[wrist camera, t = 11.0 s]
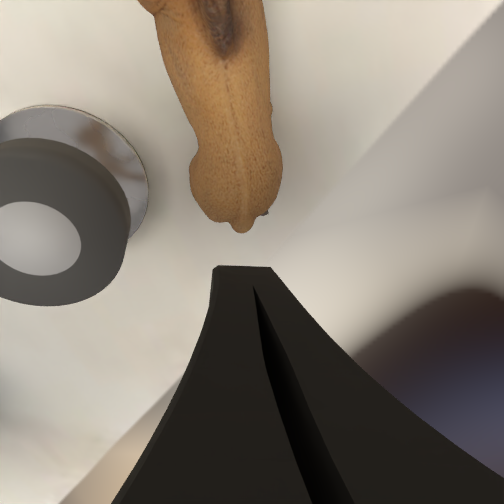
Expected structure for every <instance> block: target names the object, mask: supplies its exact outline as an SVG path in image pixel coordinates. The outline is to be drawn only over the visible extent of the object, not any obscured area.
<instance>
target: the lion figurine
mask: <svg viewBox="0 0 504 504" xmlns="http://www.w3.org/2000/svg"><path fill="white" fill-rule="evenodd" d="M138 1H139V3H140V4H141V5H142V6H143V7H144V8H145V9H146V10H147V11H148V12H150V13H151V14H152V15H153V16H154V18H155V24H156V30H157V36H158V41H159V45H160V49H161V53H162V57H163V61H164V64H165V67H166V70H167V73H168V75H169V78H170V80H171V83H172V85H173V87H174V90H175V92H176V94H177V96H178V99H179V101H180V103H181V105H182V108H183V110H184V112H185V114H186V116H187V118H188V120H189V122H190V124H191V126H192V127H193V129H194V132H195V134H196V137H197V139H198V145H199V149H198V152H197V154H196V155H195V156H194V158H193V159H192V161H191V163H190V166H189V173H190V187H191V191H192V194H193V196H194V198H195V200H196V201H197V203H198V204H199V206H200V208H201V209H202V210H203V212H204V213H205V214H206V215H207V217H208V218H209V219H211V220H212V221H214V222H219V223H221V222H229V223H230V224H231V226H232V228H233V229H234V230H235V231H236V232H238V233H246V232H247V231H249V230H250V229H251V227H252V226H253V224H254V221H255V219H256V217H258V216H260V215H262V216H264V215H267V214H268V209H269V208H270V206H271V205H272V204H273V202H274V201H275V199H276V197H277V194H278V191H279V187H280V183H281V179H282V170H283V164H282V156H281V151H280V149H279V146H278V144H277V142H276V141H275V139H274V136H273V132H272V125H271V114H272V105H271V102H270V78H269V45H268V35H267V28H266V21H265V14H264V8H263V3H262V0H138Z"/></svg>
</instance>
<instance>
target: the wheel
mask: <svg viewBox="0 0 504 504" xmlns="http://www.w3.org/2000/svg"><path fill="white" fill-rule="evenodd" d="M130 227H131V214H130V208H129V204H128V200H127V198H126V195H125V193H124V191H123V189H122V187H121V186H120V184H119V183H118V181H117V180H116V179H115V177H114V176H113V175H112V174H111V173H110V172H109V170H108V169H107V168H106V167H105V166H103V165H102V164H101V163H100V162H99V161H97V160H96V159H95V158H93V157H92V156H90V155H89V154H87V153H85V152H83V151H81V150H79V149H78V148H76V147H73V146H70V145H68V144H65V143H62V142H58V141H55V140H50V139H43V138H19V139H13V140H9V141H5V142H2V143H0V297H2V298H5V299H8V300H11V301H14V302H18V303H23V304H28V305H35V306H61V305H68V304H72V303H76V302H80V301H82V300H85V299H88V298H90V297H92V296H94V295H96V294H97V293H99V292H100V291H102V290H103V289H104V288H105V287H106V286H108V285H109V284H110V283H111V281H112V280H113V279H114V278H115V276H116V275H117V273H118V271H119V270H120V267H121V265H122V262H123V258H124V254H125V249H126V245H127V241H128V236H129V232H130Z"/></svg>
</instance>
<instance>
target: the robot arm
mask: <svg viewBox="0 0 504 504" xmlns="http://www.w3.org/2000/svg"><path fill="white" fill-rule="evenodd" d="M111 504H504V478H503V477H501V476H500V475H498V474H497V473H495V472H494V471H492V470H491V469H489V468H488V467H486V466H485V465H483V464H482V463H481V462H479V461H478V460H476V459H475V458H473V457H472V456H471V455H469V454H468V453H466V452H465V451H463V450H462V449H461V448H459V447H458V446H456V445H455V444H454V443H452V442H451V441H450V440H448V439H447V438H446V437H445V436H443V435H442V434H441V433H439V432H438V431H437V430H435V429H434V428H433V427H431V426H430V425H429V424H427V423H426V422H425V421H423V420H422V419H421V418H419V417H418V416H417V415H416V414H414V413H413V412H412V411H410V410H409V409H408V408H407V407H406V406H404V405H403V404H402V403H401V402H400V401H398V400H397V399H396V398H395V397H394V396H392V395H391V394H390V393H389V392H388V391H387V390H385V389H384V388H383V387H382V386H381V385H380V384H379V383H378V382H376V381H375V380H374V379H373V378H372V377H371V376H370V375H368V374H367V373H366V372H365V371H364V370H363V369H362V368H361V367H360V366H359V365H357V363H356V362H354V360H352V359H351V357H349V355H348V354H347V353H345V351H344V350H343V349H342V348H341V347H340V346H339V345H338V344H337V343H336V342H334V340H333V339H332V338H330V336H329V335H328V334H327V333H326V332H325V331H324V330H323V329H322V327H321V326H319V324H318V323H317V322H316V321H315V320H314V318H313V317H312V316H311V315H310V314H309V313H308V312H307V311H306V309H305V308H304V307H303V306H302V305H301V303H300V302H299V301H298V300H297V299H296V297H295V296H294V295H293V294H292V293H291V291H290V290H289V289H288V288H287V287H286V285H285V284H284V283H283V282H282V280H281V279H280V278H279V277H278V275H277V274H276V273H275V272H274V271H273V270H272V268H271V267H254V266H224V265H218V266H217V267H215V268H214V269H213V272H212V282H211V292H210V302H209V308H208V312H207V315H206V318H205V322H204V325H203V328H202V331H201V334H200V336H199V339H198V341H197V344H196V347H195V349H194V352H193V354H192V357H191V359H190V362H189V364H188V366H187V369H186V371H185V373H184V375H183V377H182V380H181V382H180V384H179V386H178V388H177V390H176V392H175V394H174V396H173V398H172V400H171V403H170V404H169V406H168V409H167V410H166V412H165V414H164V416H163V417H162V419H161V421H160V423H159V425H158V427H157V428H156V430H155V432H154V434H153V436H152V437H151V439H150V441H149V443H148V444H147V446H146V448H145V450H144V451H143V453H142V455H141V457H140V458H139V460H138V462H137V463H136V465H135V467H134V468H133V470H132V471H131V473H130V475H129V476H128V478H127V480H126V481H125V483H124V484H123V486H122V487H121V489H120V491H119V492H118V494H117V495H116V497H115V498H114V500H113V501H112V503H111Z"/></svg>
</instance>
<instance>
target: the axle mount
mask: <svg viewBox="0 0 504 504" xmlns="http://www.w3.org/2000/svg"><path fill="white" fill-rule="evenodd" d="M19 138H43V139H50V140H55V141H58V142H62V143H65V144H68V145H70V146H73V147H76V148H78V149H79V150H81V151H83V152H85V153H87V154H89V155H90V156H92V157H93V158H95V159H96V160H97V161H99V162H100V163H101V164H102V165H103V166H105V167H106V168H107V169H108V170H109V172H110V173H111V174H112V175H113V176H114V177H115V179H116V180H117V181H118V183H119V184H120V186H121V187H122V189H123V191H124V193H125V195H126V198H127V200H128V204H129V208H130V214H131V227H130V232H129V236H128V239H129V238H130V237H131V236H132V235H133V234H134V233H135V231H136V230H137V229H138V227H139V226H140V224H141V222H142V220H143V218H144V215H145V212H146V208H147V203H148V193H149V192H148V181H147V177H146V173H145V170H144V167H143V164H142V163H141V161H140V159H139V157H138V155H137V153H136V152H135V150H134V149H133V148H132V146H131V145H130V144H129V143H128V142H127V140H126V139H125V138H124V137H123V136H122V135H121V134H120V133H118V132H117V131H116V130H115V129H114V128H112V127H111V126H110V125H108V124H107V123H105V122H104V121H102V120H100V119H98V118H97V117H95V116H92V115H90V114H88V113H85V112H83V111H80V110H76V109H73V108H68V107H63V106H52V105H43V106H33V107H29V108H24V109H21V110H19V111H16V112H14V113H12V114H10V115H8V116H6V117H5V118H3V119H2V120H0V143H2V142H5V141H9V140H13V139H19Z"/></svg>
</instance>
